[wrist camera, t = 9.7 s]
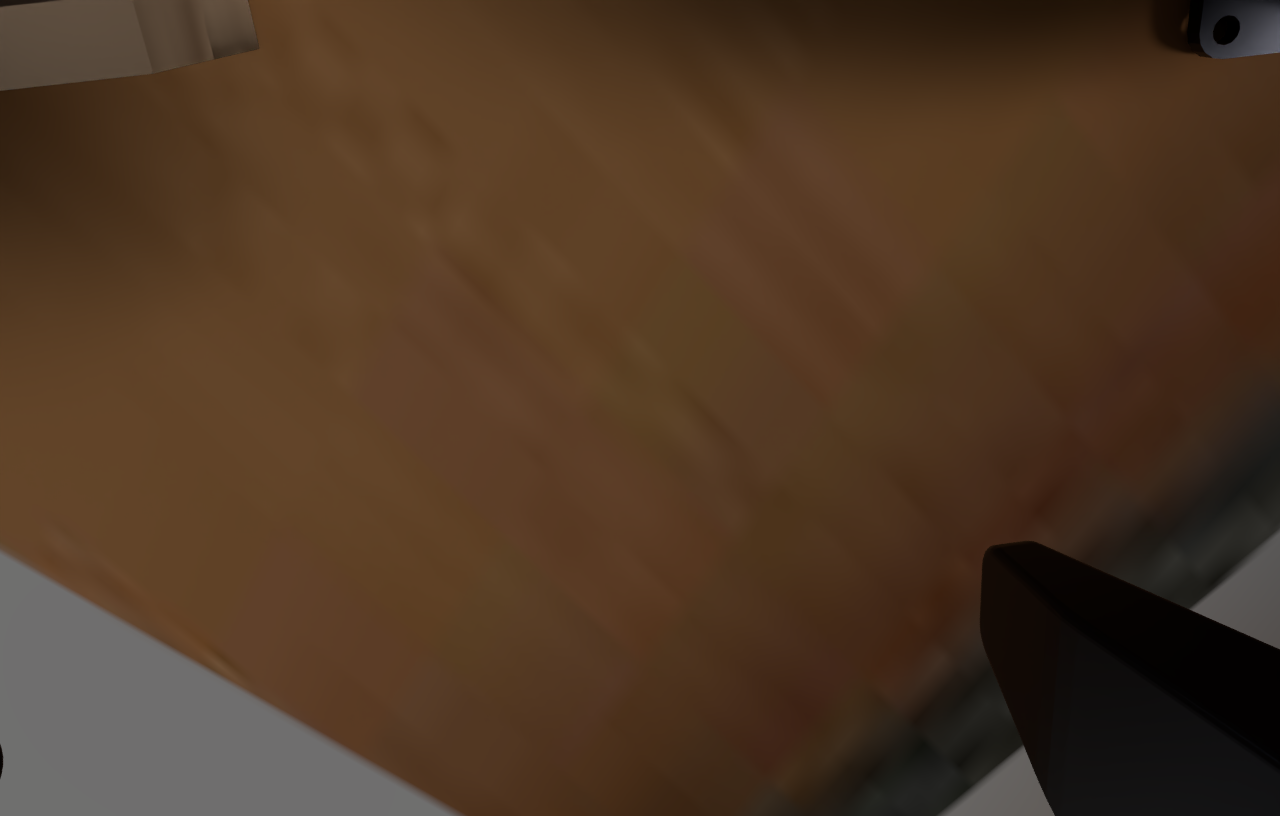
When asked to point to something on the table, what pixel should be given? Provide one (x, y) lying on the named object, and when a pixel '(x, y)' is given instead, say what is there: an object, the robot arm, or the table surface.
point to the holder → (115, 38)
